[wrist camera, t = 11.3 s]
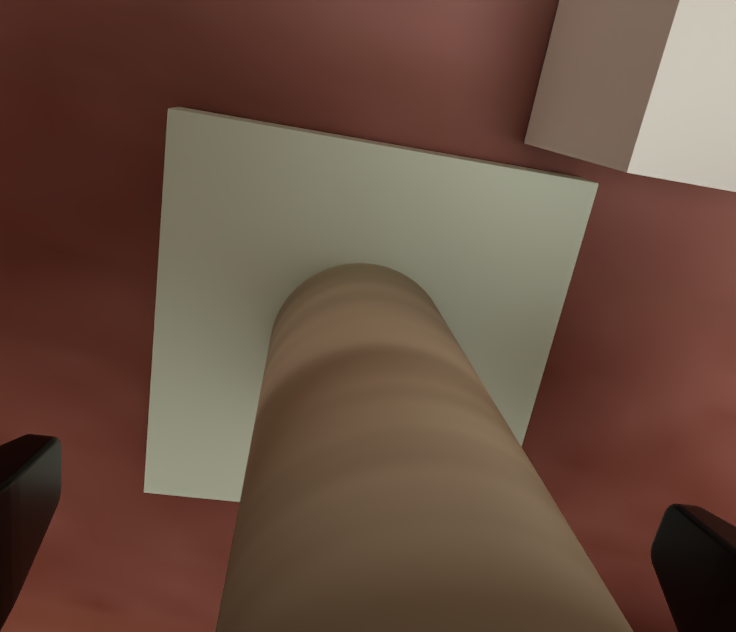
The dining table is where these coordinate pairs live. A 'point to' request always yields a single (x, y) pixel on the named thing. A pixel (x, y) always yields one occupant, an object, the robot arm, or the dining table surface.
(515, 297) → the rest pad
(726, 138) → the box
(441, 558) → the tan cylinder
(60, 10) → the dining table surface
